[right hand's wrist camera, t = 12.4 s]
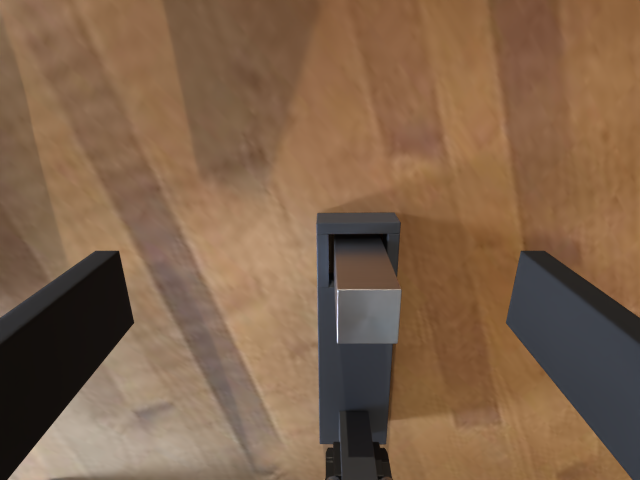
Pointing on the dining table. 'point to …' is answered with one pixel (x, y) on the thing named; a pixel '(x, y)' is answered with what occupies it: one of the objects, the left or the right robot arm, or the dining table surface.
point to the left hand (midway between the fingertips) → (356, 448)
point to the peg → (365, 291)
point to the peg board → (352, 356)
